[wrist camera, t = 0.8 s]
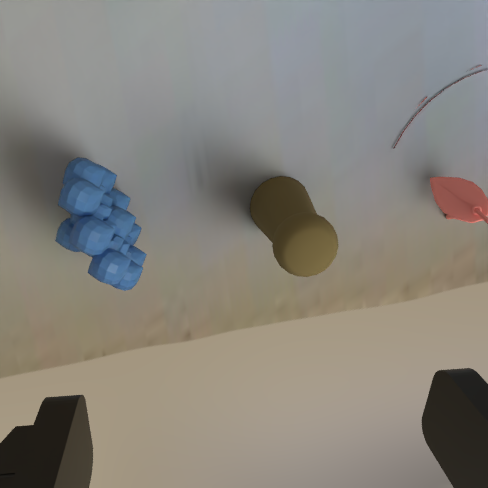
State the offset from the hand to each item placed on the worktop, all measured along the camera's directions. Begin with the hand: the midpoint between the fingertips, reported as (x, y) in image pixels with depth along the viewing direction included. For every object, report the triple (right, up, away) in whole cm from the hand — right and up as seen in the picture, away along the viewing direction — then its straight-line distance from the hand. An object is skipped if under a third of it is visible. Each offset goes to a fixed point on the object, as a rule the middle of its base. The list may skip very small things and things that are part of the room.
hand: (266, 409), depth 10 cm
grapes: (-13, +8, +31) cm, 34 cm away
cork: (+3, +8, +33) cm, 34 cm away
